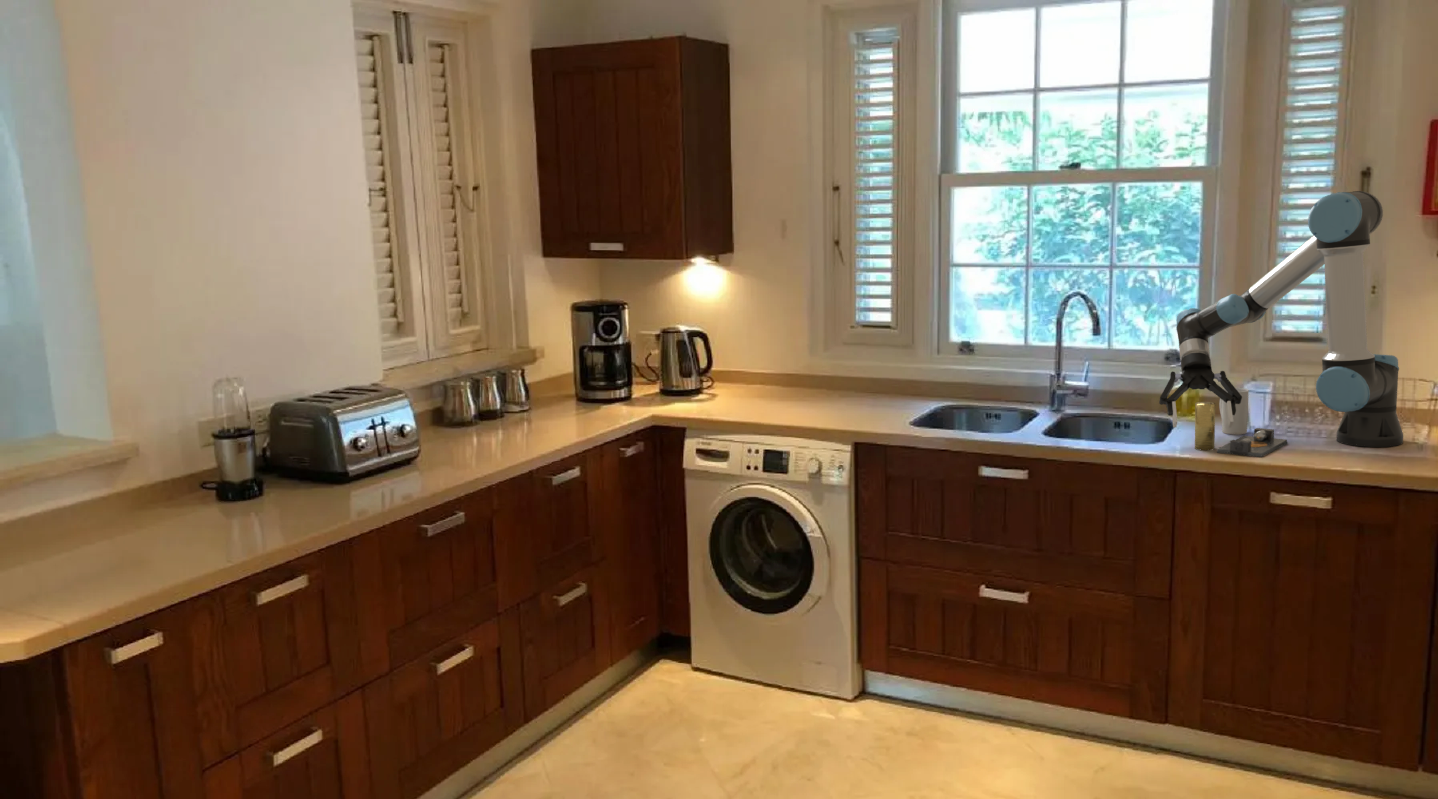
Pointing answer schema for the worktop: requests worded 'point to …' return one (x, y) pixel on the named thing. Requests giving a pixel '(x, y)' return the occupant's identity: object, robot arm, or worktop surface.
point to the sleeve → (1205, 425)
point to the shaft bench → (1254, 444)
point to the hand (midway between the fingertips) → (1203, 424)
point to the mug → (1236, 415)
